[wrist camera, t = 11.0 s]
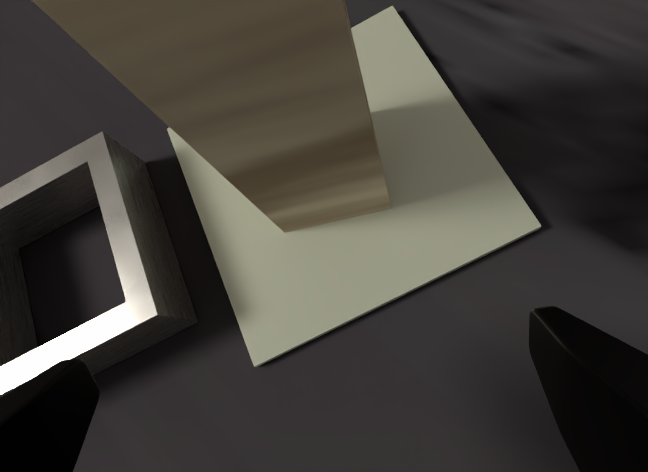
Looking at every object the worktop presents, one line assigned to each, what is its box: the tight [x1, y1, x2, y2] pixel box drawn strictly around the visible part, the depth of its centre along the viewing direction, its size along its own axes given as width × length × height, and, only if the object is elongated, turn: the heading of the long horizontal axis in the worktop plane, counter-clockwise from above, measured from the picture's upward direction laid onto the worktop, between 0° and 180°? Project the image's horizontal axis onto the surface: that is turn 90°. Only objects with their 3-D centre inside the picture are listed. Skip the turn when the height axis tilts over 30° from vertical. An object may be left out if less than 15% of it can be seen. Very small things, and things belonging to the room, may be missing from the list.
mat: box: [167, 6, 541, 367], centre depth 19 cm, size 12×12×1 cm
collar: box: [0, 132, 198, 398], centre depth 19 cm, size 8×8×3 cm
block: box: [32, 0, 391, 233], centre depth 13 cm, size 4×4×13 cm
